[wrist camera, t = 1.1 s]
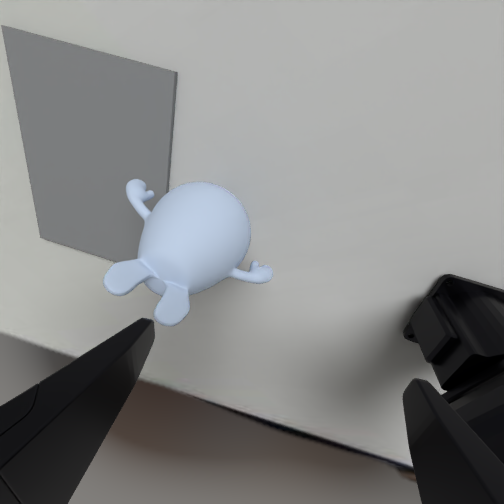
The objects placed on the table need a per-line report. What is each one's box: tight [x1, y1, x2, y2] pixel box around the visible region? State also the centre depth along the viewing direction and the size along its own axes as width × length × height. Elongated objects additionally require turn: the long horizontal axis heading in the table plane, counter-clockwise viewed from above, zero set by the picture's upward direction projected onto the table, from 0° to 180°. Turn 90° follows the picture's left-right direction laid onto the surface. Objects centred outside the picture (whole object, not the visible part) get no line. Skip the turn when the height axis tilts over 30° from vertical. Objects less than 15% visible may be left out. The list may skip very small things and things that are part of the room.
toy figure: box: [103, 179, 273, 326], centre depth 16 cm, size 11×6×12 cm, turn 57°
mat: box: [1, 25, 177, 262], centre depth 22 cm, size 12×16×1 cm
